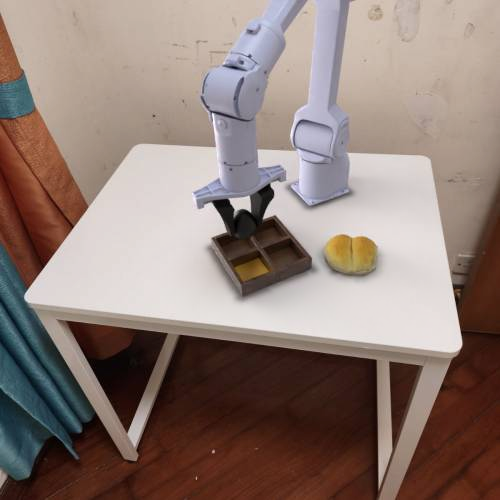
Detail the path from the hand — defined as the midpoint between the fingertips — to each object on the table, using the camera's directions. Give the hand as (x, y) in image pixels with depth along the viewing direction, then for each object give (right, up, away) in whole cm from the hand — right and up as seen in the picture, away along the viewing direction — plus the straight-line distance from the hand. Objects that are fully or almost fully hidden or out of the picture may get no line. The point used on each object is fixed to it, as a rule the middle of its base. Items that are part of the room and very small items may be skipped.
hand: (243, 228), depth 72 cm
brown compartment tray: (+3, -5, +7) cm, 9 cm away
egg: (0, -1, +1) cm, 2 cm away
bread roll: (+19, -5, +5) cm, 20 cm away
